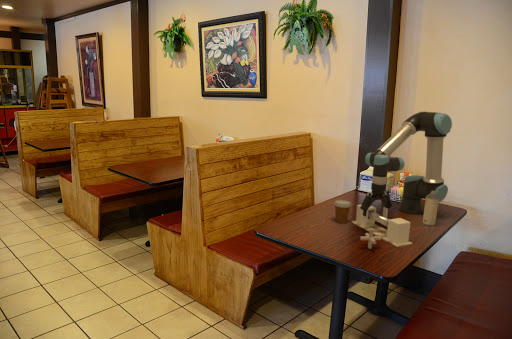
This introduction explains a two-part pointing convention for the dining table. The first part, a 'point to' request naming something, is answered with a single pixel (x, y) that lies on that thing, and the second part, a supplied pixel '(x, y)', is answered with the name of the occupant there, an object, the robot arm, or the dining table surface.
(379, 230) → the board
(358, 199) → the dining table surface
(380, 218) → the tube
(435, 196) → the aerosol can
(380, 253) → the dining table surface
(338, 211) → the disposable coffee cup
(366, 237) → the pipe connector
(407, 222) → the socket
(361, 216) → the sleeve
